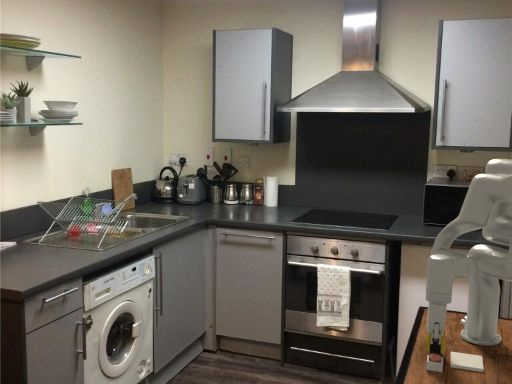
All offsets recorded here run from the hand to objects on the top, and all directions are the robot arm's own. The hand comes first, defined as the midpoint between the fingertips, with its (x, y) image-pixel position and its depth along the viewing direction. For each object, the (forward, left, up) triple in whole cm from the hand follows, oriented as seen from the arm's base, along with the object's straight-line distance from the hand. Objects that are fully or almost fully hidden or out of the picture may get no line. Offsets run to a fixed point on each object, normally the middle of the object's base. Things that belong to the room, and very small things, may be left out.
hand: (435, 350), depth 173 cm
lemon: (0, 0, -2) cm, 2 cm away
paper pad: (+7, +6, -1) cm, 9 cm away
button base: (+7, -5, -1) cm, 9 cm away
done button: (+7, -5, +1) cm, 9 cm away
